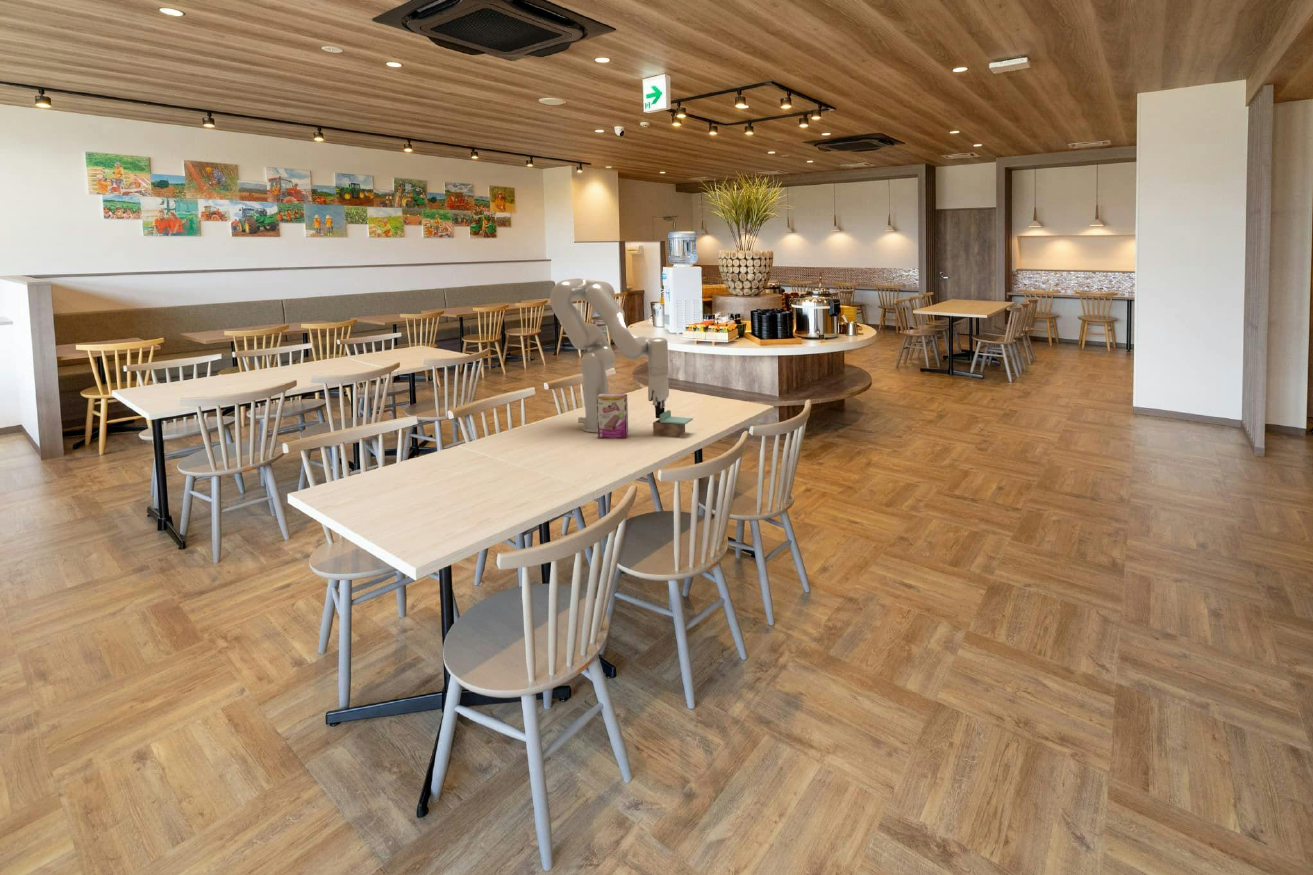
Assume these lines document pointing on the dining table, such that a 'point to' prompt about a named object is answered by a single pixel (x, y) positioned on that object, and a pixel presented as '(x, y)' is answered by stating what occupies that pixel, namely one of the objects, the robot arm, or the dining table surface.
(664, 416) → the lid
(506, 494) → the dining table surface
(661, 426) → the brown wooden box
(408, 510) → the dining table surface
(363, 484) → the dining table surface
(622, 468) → the dining table surface
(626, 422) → the candy bar box
